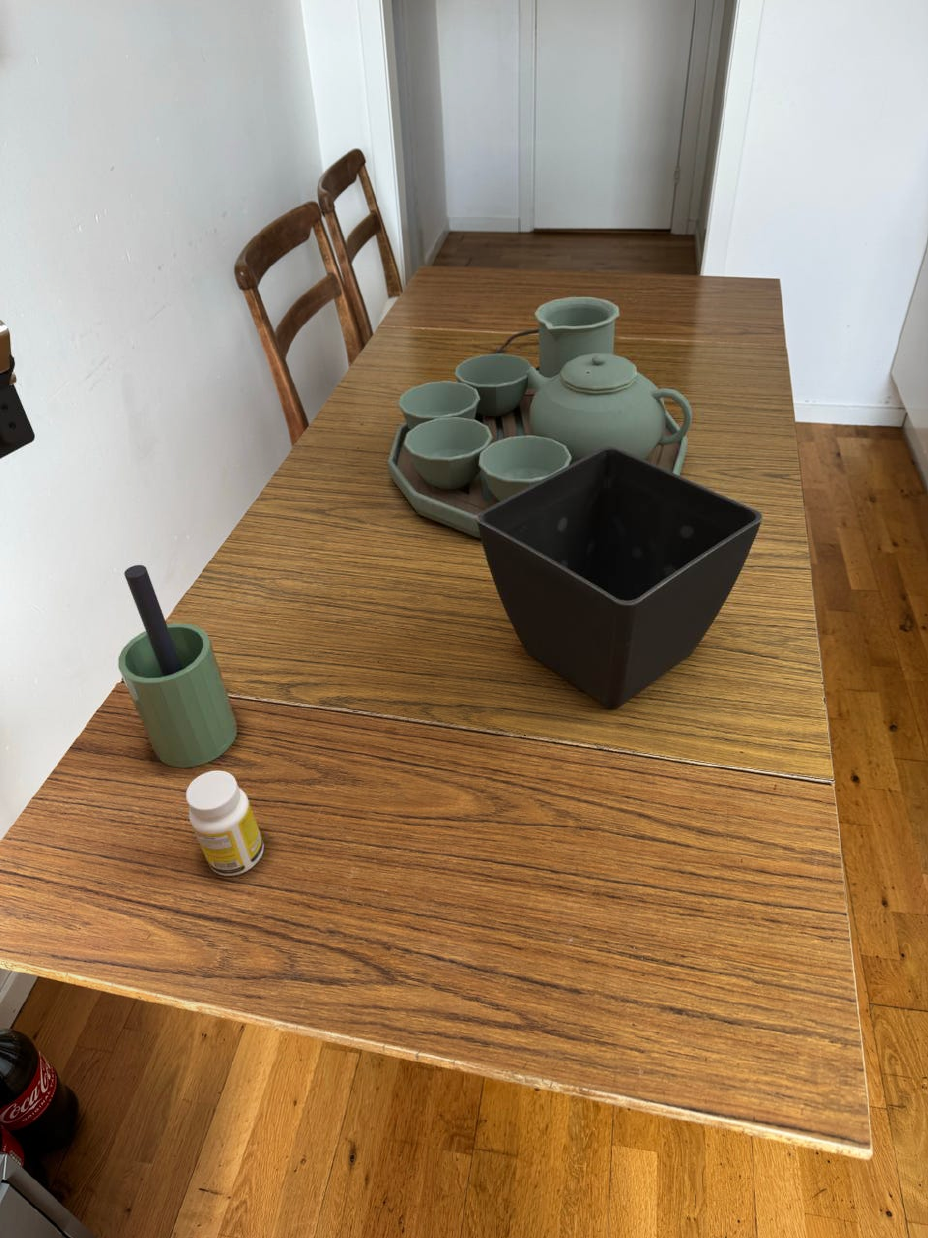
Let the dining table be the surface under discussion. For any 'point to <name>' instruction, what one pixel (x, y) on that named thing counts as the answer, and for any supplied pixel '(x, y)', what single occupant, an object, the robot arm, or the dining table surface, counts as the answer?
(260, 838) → the supplement bottle
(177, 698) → the green pencil cup
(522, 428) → the tea set
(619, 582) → the flower pot
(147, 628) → the bottle brush
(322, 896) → the dining table surface
